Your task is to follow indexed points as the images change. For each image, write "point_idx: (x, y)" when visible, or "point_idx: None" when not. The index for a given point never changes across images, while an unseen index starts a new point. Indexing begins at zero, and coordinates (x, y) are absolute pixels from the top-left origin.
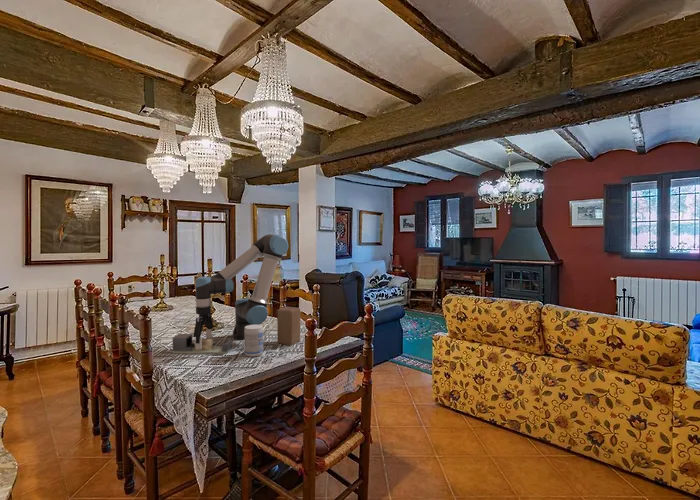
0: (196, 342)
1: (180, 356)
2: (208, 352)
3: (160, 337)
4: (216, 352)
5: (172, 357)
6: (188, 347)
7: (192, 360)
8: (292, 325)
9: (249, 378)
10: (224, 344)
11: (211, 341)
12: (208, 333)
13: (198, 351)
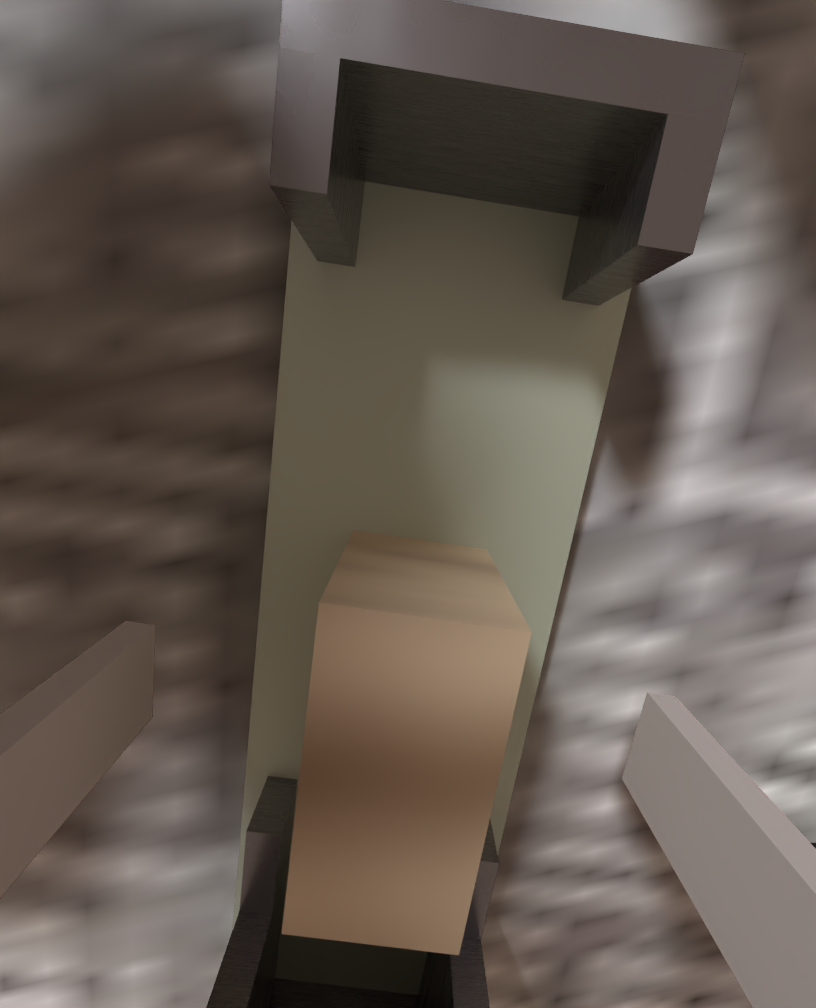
0: None
1: (597, 873)
2: (566, 549)
3: None
4: (598, 408)
5: (615, 944)
6: (488, 906)
7: (807, 695)
8: None
9: None
10: (707, 169)
11: (405, 593)
12: (4, 828)
13: (517, 710)
